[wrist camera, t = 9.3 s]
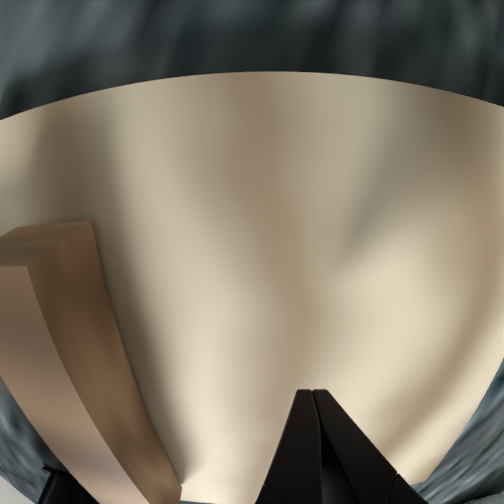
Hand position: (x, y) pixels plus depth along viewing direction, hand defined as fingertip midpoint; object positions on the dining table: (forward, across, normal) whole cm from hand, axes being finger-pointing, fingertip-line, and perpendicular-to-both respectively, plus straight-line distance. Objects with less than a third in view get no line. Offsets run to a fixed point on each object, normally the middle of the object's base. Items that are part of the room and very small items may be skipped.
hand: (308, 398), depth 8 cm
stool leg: (+3, +8, +5) cm, 10 cm away
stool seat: (+5, +1, +4) cm, 6 cm away
